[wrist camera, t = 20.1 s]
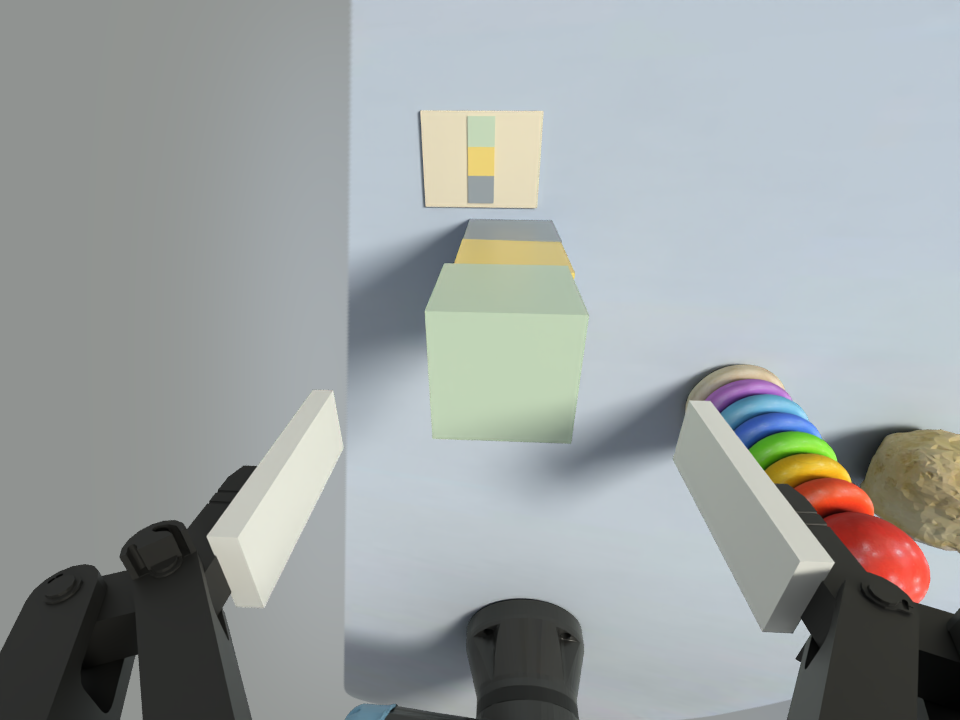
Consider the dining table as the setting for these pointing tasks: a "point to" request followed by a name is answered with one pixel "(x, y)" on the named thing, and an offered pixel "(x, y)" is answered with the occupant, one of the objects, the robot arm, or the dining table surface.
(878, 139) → the dining table surface
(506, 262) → the mustard brick
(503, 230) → the slate brick
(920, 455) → the tan rough rounded lump
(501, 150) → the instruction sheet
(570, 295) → the sage brick
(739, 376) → the stacking toy
